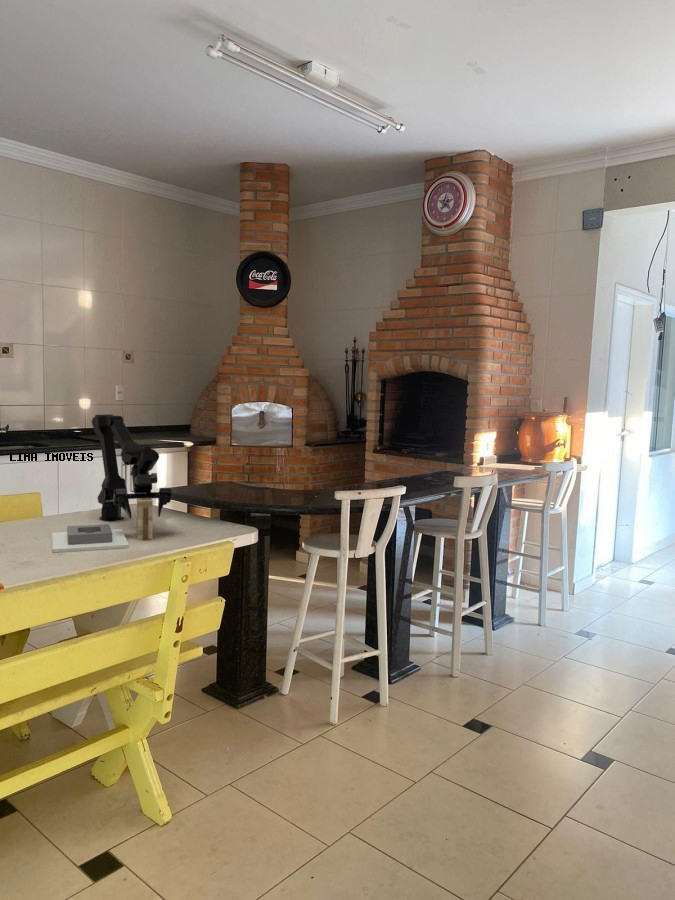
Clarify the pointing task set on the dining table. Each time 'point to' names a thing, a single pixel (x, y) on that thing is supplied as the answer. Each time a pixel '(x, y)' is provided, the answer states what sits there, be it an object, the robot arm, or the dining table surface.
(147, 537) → the keyed peg
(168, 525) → the dining table surface
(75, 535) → the socket block
